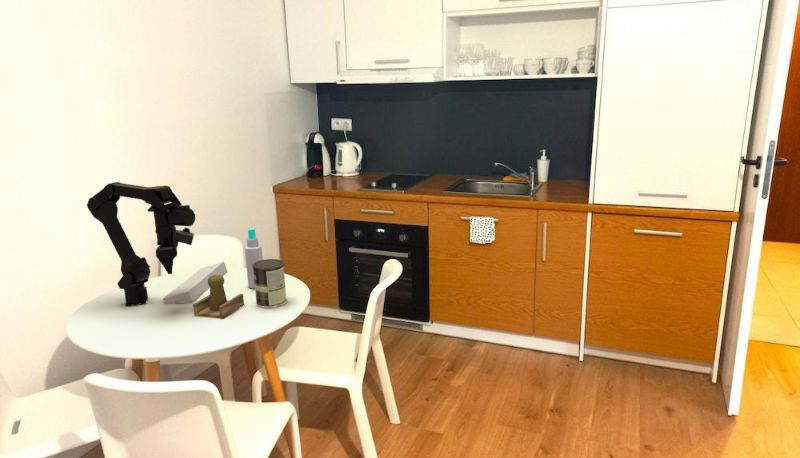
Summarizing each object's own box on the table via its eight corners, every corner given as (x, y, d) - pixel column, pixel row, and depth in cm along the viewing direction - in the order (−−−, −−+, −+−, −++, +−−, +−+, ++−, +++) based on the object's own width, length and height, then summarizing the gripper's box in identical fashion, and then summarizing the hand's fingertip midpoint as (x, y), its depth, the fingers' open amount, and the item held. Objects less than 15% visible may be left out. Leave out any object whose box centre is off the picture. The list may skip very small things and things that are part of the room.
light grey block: (167, 311, 196) (193, 304, 194) (161, 299, 195) (188, 291, 193) (205, 279, 229) (228, 272, 227) (201, 268, 228) (223, 261, 226)
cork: (206, 307, 187) (202, 276, 184) (223, 302, 191) (219, 271, 188) (214, 312, 183) (210, 280, 180) (231, 307, 187) (228, 275, 184)
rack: (194, 315, 183) (192, 304, 182) (216, 302, 194) (215, 291, 193) (223, 318, 180) (222, 307, 179) (244, 305, 191) (243, 294, 190)
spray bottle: (258, 282, 213) (253, 226, 208) (268, 285, 209) (263, 228, 204) (245, 287, 209) (239, 229, 203) (254, 290, 205) (249, 231, 200)
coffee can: (253, 309, 187) (249, 268, 184) (259, 298, 197) (255, 259, 194) (284, 307, 188) (281, 267, 185) (288, 296, 198) (285, 258, 195)
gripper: (190, 228, 179) (196, 275, 183) (190, 216, 196) (196, 259, 200) (152, 232, 175) (159, 279, 179) (156, 219, 192) (162, 263, 196)
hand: (170, 270), depth 189 cm, fingers open, 9 cm apart
